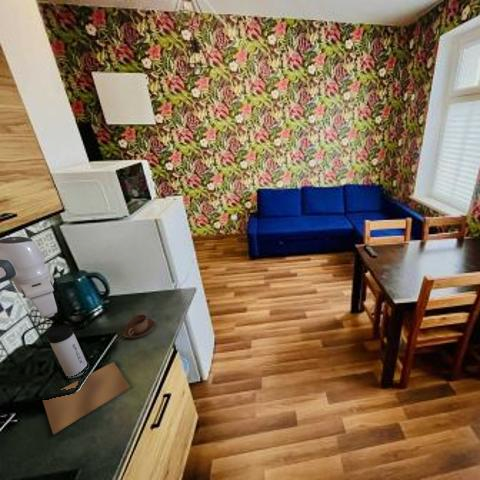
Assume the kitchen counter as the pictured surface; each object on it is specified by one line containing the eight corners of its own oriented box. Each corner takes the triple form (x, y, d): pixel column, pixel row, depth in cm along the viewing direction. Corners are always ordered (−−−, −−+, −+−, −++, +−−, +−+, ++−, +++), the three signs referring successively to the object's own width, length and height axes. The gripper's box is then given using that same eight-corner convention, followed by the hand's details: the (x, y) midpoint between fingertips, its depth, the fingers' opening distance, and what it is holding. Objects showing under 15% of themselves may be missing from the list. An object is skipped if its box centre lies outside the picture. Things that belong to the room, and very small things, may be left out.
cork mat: (53, 434, 79) (52, 433, 78) (42, 400, 88) (42, 399, 88) (130, 387, 93) (130, 386, 93) (114, 362, 103) (113, 361, 102)
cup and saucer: (152, 337, 115) (149, 325, 113) (119, 343, 112) (115, 332, 109) (157, 319, 126) (154, 309, 123) (128, 325, 122) (124, 314, 120)
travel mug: (64, 372, 98) (42, 330, 90) (86, 362, 103) (68, 320, 95) (67, 382, 94) (45, 339, 87) (90, 371, 99) (71, 328, 91)
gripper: (17, 275, 94) (33, 307, 99) (25, 297, 82) (43, 332, 87) (42, 268, 98) (56, 299, 104) (53, 288, 87) (68, 322, 92)
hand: (50, 314), depth 95 cm, fingers closed
